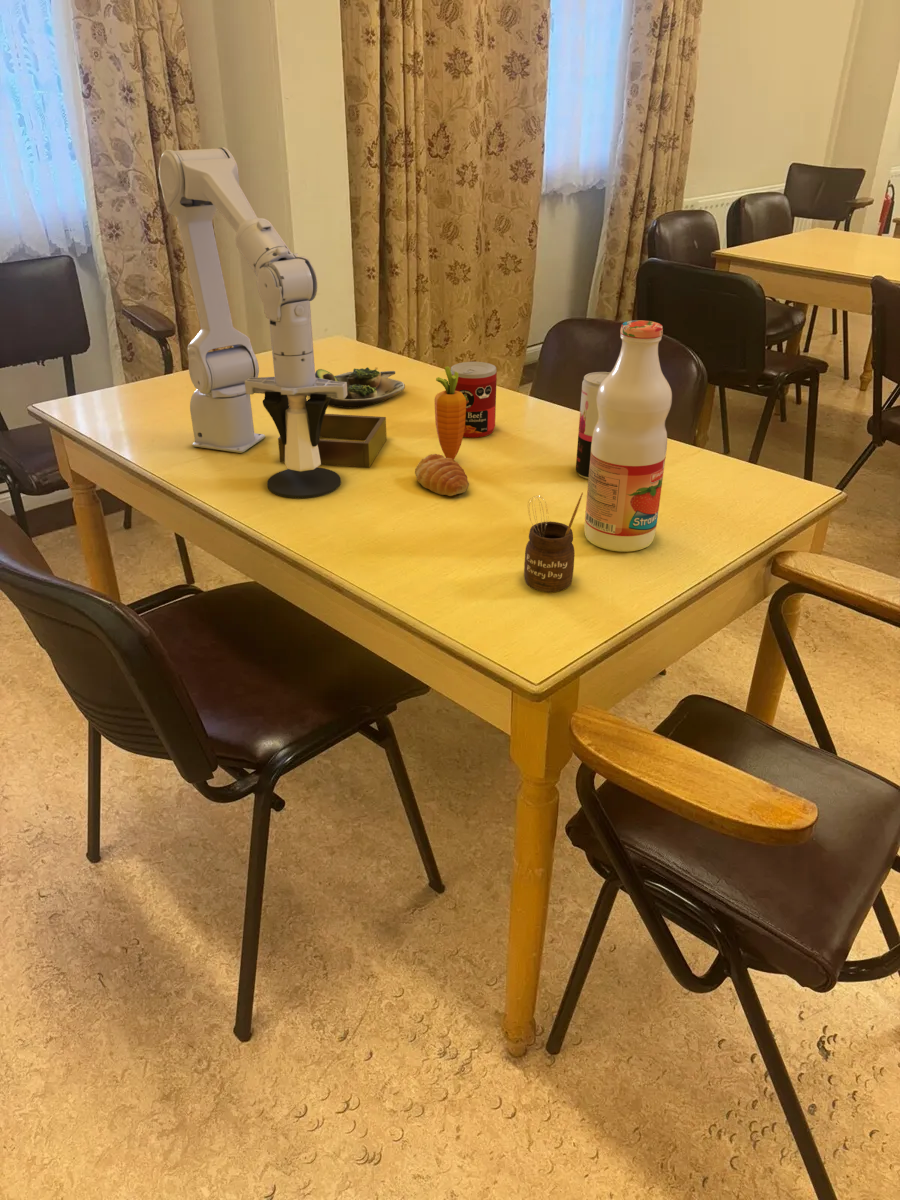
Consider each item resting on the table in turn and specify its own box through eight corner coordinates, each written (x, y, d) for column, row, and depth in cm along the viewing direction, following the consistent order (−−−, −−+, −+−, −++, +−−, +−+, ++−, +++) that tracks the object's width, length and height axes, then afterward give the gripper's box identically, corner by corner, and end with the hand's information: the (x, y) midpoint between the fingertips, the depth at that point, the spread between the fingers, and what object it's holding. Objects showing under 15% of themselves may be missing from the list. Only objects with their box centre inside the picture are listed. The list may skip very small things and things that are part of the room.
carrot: (462, 469, 140) (463, 374, 132) (431, 466, 141) (430, 372, 133) (468, 457, 144) (469, 365, 137) (438, 455, 145) (437, 363, 138)
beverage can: (571, 478, 137) (578, 382, 129) (580, 463, 142) (588, 369, 135) (613, 484, 135) (623, 386, 127) (621, 468, 140) (631, 374, 133)
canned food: (443, 435, 153) (443, 371, 148) (460, 420, 160) (461, 359, 154) (485, 441, 151) (486, 376, 145) (501, 426, 157) (503, 364, 152)
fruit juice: (592, 517, 125) (611, 312, 111) (660, 528, 122) (688, 319, 108) (575, 546, 117) (593, 330, 103) (647, 558, 114) (676, 337, 100)
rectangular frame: (280, 462, 142) (277, 438, 140) (303, 434, 153) (301, 412, 151) (369, 467, 140) (368, 443, 138) (386, 439, 151) (385, 416, 149)
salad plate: (369, 371, 185) (368, 349, 183) (427, 391, 174) (427, 367, 172) (292, 391, 174) (290, 368, 171) (349, 413, 163) (348, 388, 160)
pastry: (480, 492, 132) (480, 468, 130) (441, 502, 129) (441, 478, 127) (447, 471, 139) (447, 448, 137) (409, 480, 136) (409, 457, 134)
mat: (253, 492, 132) (253, 489, 132) (288, 466, 141) (288, 463, 141) (321, 502, 129) (321, 499, 129) (352, 474, 138) (352, 471, 138)
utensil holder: (528, 567, 112) (533, 478, 106) (578, 574, 111) (586, 484, 105) (518, 589, 107) (522, 498, 101) (570, 597, 106) (577, 505, 100)
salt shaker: (306, 455, 137) (300, 384, 131) (328, 464, 133) (323, 392, 128) (277, 464, 133) (270, 392, 128) (299, 474, 130) (292, 401, 125)
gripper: (232, 356, 122) (244, 449, 129) (335, 360, 120) (341, 455, 127) (250, 342, 128) (260, 433, 135) (348, 347, 126) (353, 438, 133)
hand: (300, 443), depth 132 cm, fingers closed on salt shaker, 4 cm apart
